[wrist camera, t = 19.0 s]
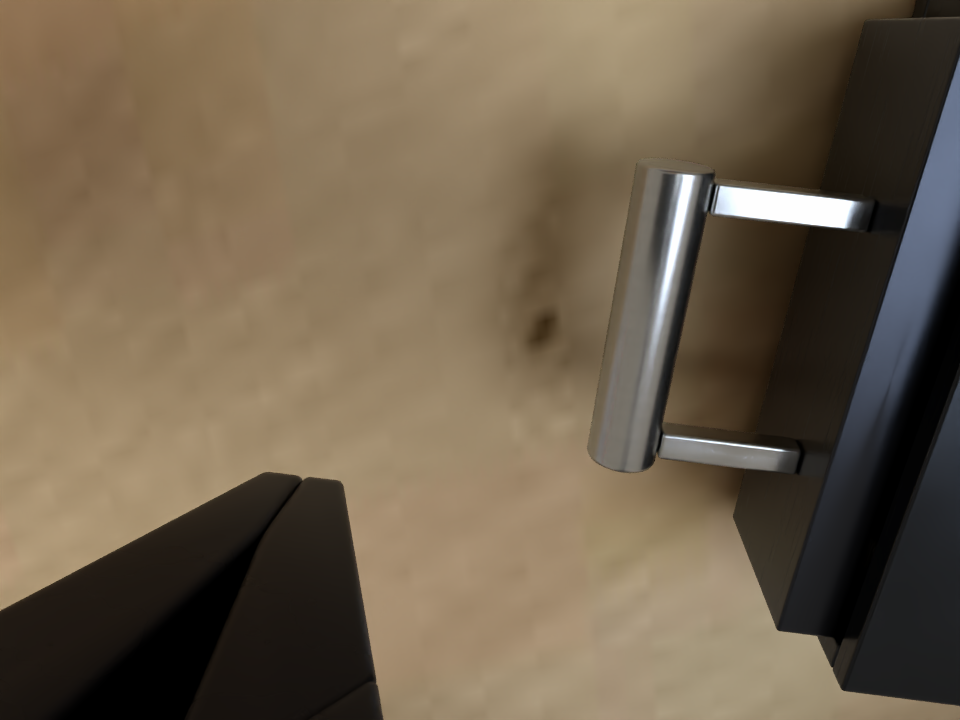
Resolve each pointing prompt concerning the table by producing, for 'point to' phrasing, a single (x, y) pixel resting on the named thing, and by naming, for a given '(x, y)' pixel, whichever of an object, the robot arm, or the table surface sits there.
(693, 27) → the table surface
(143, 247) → the table surface
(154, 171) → the table surface
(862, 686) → the cabinet
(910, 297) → the drawer
